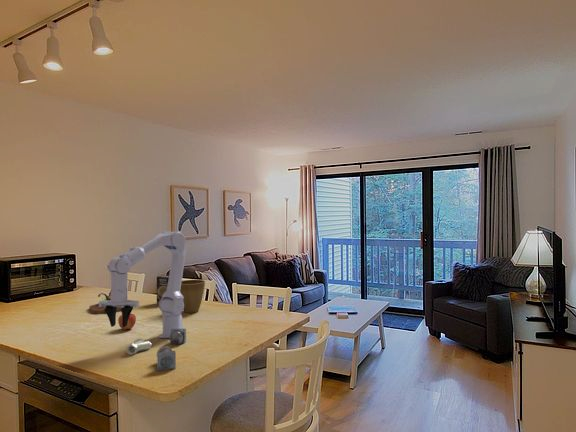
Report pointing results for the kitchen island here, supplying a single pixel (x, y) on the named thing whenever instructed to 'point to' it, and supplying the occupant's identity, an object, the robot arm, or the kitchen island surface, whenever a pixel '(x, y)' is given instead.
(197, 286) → the plant pot
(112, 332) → the kitchen island surface
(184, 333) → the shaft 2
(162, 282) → the coffee box
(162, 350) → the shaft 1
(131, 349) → the pipe fitting
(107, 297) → the plant
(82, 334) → the kitchen island surface
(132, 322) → the apple
